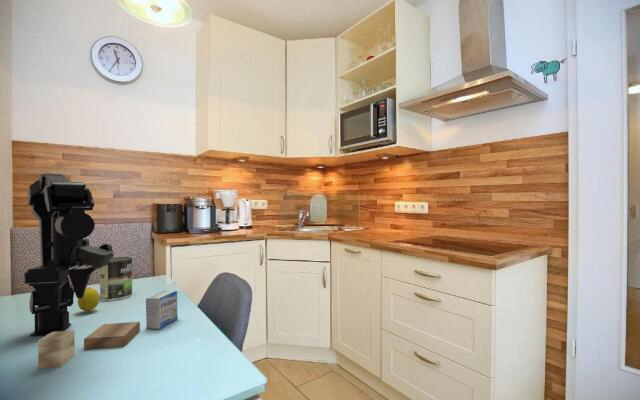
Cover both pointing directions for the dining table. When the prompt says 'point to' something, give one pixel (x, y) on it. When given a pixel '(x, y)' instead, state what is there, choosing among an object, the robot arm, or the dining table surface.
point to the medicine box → (161, 309)
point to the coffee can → (116, 279)
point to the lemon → (89, 300)
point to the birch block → (56, 349)
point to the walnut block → (112, 335)
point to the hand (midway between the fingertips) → (68, 304)
